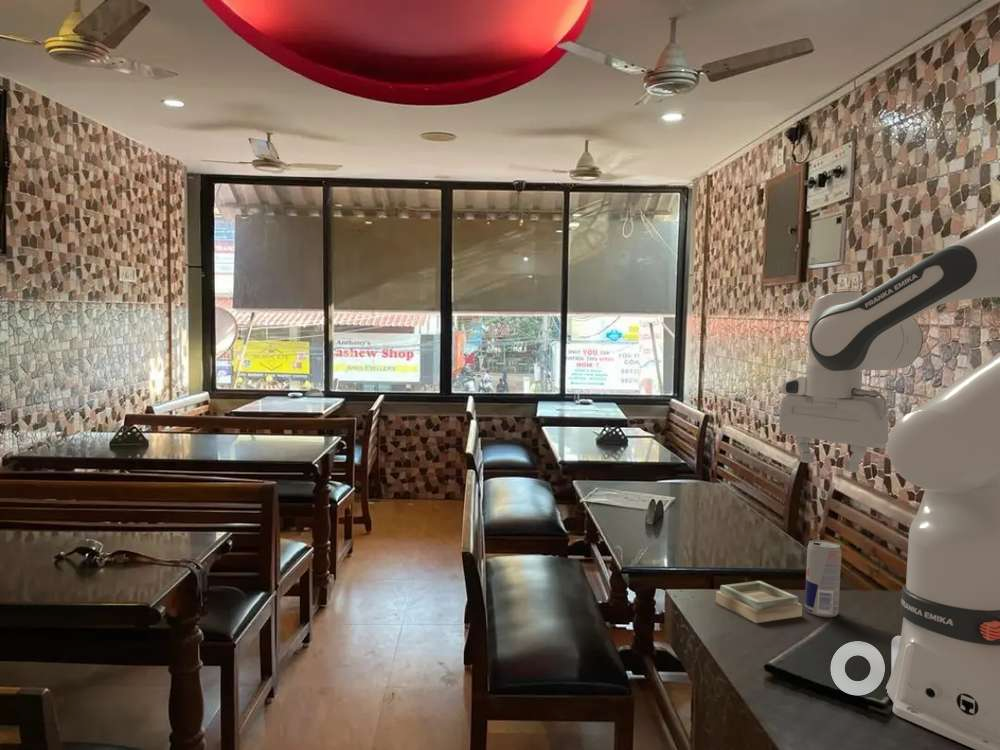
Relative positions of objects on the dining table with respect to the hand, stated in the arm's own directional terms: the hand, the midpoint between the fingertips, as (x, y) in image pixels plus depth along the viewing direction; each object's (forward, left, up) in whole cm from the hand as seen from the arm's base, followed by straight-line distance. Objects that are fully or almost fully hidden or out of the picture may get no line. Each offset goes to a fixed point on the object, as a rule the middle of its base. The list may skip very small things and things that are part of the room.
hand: (828, 466), depth 123 cm
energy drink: (0, 0, -26) cm, 26 cm away
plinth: (+4, +10, -25) cm, 28 cm away
